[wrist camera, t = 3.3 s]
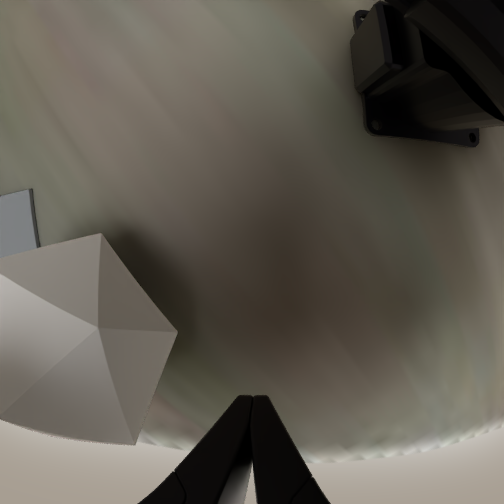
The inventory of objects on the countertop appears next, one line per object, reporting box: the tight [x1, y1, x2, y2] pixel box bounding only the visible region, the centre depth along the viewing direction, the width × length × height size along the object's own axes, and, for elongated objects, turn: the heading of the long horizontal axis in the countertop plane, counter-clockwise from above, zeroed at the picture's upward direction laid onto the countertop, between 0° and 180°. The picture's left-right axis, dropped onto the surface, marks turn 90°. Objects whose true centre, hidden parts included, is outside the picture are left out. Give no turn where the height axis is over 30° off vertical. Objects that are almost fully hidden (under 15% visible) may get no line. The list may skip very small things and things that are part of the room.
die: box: [0, 233, 178, 445], centre depth 11 cm, size 8×9×10 cm
